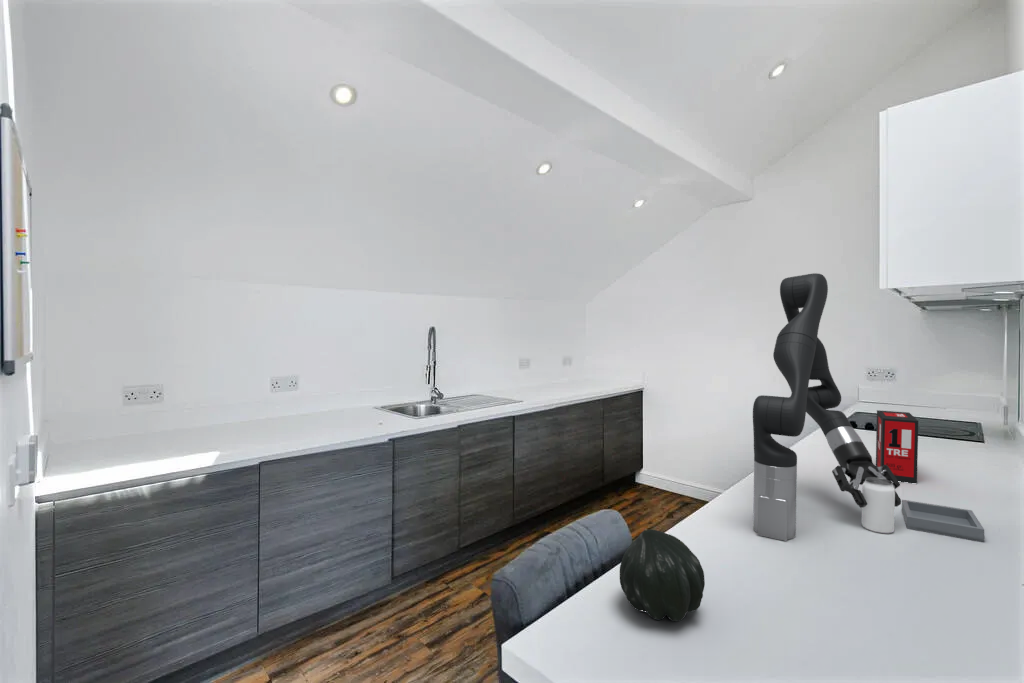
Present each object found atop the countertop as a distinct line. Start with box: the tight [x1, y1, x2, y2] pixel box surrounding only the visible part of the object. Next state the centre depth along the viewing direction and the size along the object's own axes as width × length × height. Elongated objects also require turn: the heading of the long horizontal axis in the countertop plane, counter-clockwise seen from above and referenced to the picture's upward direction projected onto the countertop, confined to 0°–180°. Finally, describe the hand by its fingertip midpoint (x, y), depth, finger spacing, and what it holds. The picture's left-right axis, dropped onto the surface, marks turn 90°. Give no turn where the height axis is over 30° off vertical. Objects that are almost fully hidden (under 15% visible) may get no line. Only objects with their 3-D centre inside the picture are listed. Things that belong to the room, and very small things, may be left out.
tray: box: [901, 499, 985, 543], centre depth 124 cm, size 14×14×3 cm
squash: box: [619, 528, 706, 622], centre depth 89 cm, size 14×15×15 cm
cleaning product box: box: [875, 409, 919, 484], centre depth 164 cm, size 16×9×20 cm, turn 149°
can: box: [861, 477, 896, 535], centre depth 122 cm, size 6×6×12 cm
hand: (880, 505), depth 121 cm, fingers open, 8 cm apart
